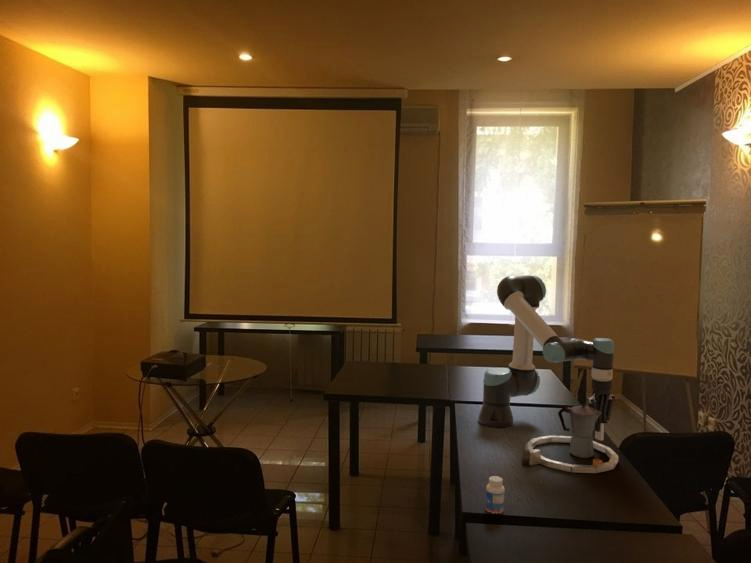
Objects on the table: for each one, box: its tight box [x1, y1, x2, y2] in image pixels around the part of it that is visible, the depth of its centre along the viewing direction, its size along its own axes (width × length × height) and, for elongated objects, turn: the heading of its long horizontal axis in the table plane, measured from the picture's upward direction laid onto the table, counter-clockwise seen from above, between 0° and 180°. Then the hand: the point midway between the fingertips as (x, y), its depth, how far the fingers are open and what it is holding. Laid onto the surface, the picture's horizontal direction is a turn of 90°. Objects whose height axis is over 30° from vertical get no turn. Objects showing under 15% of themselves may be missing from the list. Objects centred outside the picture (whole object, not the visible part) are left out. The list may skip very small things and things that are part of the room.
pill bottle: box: [485, 475, 505, 514], centre depth 177 cm, size 6×5×10 cm
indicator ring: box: [521, 435, 619, 474], centre depth 220 cm, size 32×39×5 cm
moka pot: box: [557, 402, 602, 459], centre depth 222 cm, size 10×15×20 cm, turn 78°
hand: (599, 439), depth 228 cm, fingers closed
